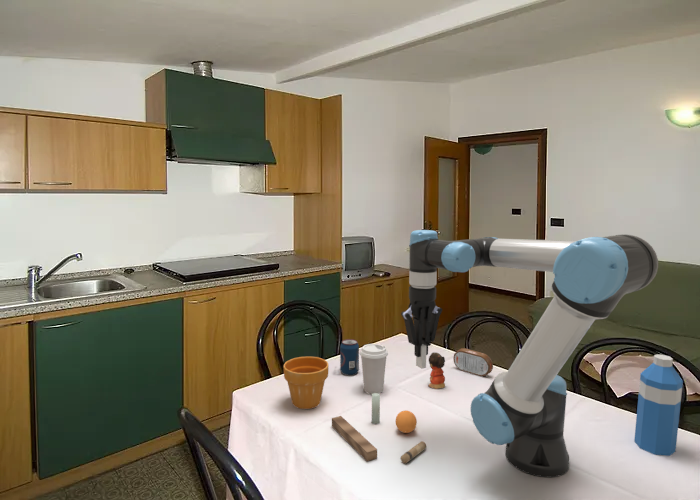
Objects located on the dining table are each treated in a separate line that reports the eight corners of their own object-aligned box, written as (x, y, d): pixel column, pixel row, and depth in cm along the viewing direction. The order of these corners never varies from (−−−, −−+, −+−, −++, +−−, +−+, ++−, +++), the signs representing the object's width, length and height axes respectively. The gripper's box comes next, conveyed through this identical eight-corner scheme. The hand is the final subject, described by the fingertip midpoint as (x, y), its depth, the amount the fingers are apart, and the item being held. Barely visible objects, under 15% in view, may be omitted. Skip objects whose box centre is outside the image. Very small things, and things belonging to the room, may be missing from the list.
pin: (419, 447, 126) (400, 461, 120) (419, 439, 126) (400, 454, 119) (426, 450, 125) (407, 464, 118) (426, 442, 125) (407, 457, 118)
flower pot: (334, 409, 147) (334, 369, 145) (289, 416, 143) (289, 375, 141) (321, 390, 160) (321, 354, 159) (280, 397, 156) (279, 359, 154)
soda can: (338, 369, 178) (338, 339, 177) (356, 368, 180) (356, 337, 178) (342, 377, 172) (342, 345, 170) (361, 375, 173) (361, 343, 172)
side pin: (381, 422, 139) (381, 395, 138) (374, 424, 138) (374, 397, 137) (376, 419, 141) (377, 392, 140) (370, 421, 140) (370, 394, 139)
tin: (492, 377, 172) (493, 355, 171) (489, 379, 170) (490, 357, 169) (455, 366, 182) (456, 345, 181) (451, 368, 180) (452, 347, 179)
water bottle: (676, 460, 121) (686, 366, 117) (633, 449, 125) (642, 359, 122) (674, 443, 128) (683, 355, 125) (634, 433, 133) (642, 348, 130)
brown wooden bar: (377, 458, 121) (377, 449, 121) (367, 461, 120) (367, 452, 119) (340, 423, 138) (340, 415, 138) (331, 426, 137) (331, 418, 137)
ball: (419, 417, 131) (402, 428, 129) (421, 429, 134) (404, 441, 132) (407, 402, 135) (390, 413, 133) (409, 415, 139) (392, 425, 137)
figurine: (448, 385, 165) (449, 352, 163) (442, 391, 160) (443, 357, 159) (431, 381, 168) (432, 348, 167) (425, 386, 164) (426, 353, 162)
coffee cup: (385, 397, 156) (386, 353, 154) (357, 394, 158) (357, 351, 155) (389, 385, 165) (389, 343, 163) (362, 382, 167) (362, 342, 165)
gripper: (432, 281, 138) (430, 358, 141) (395, 285, 132) (394, 366, 135) (449, 285, 131) (447, 366, 135) (411, 290, 125) (410, 375, 128)
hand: (421, 366), depth 135 cm, fingers closed
